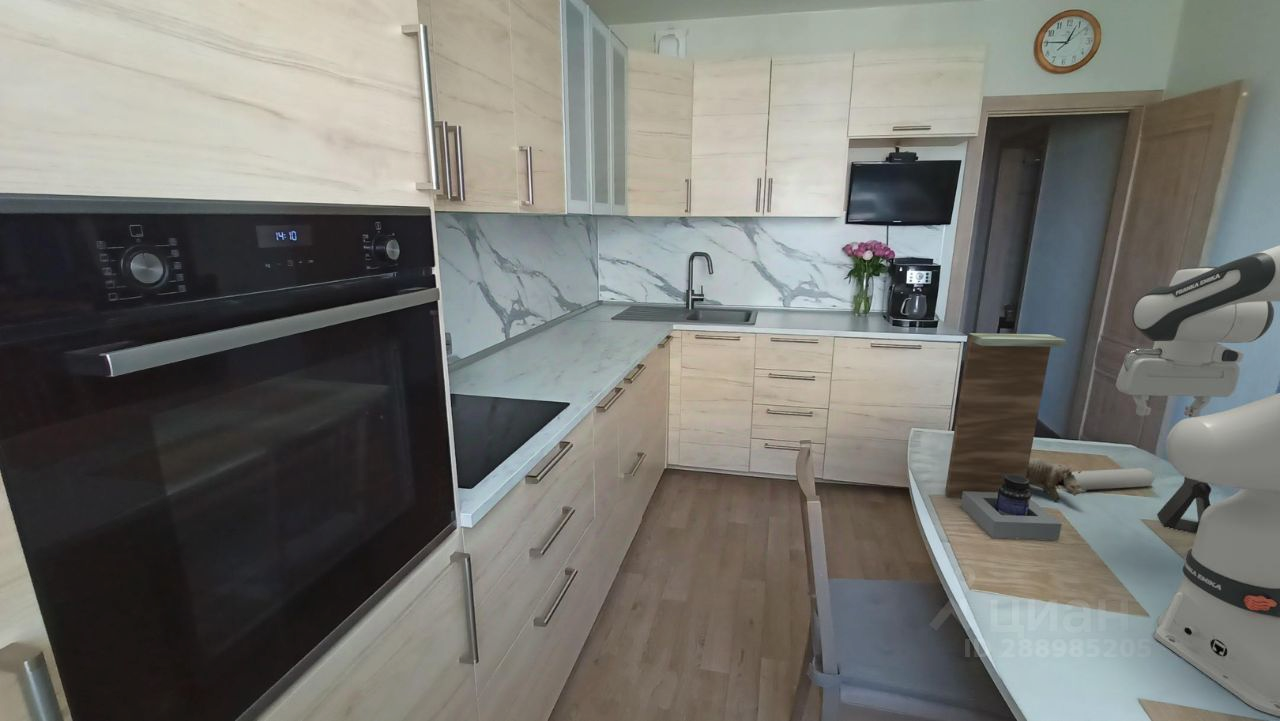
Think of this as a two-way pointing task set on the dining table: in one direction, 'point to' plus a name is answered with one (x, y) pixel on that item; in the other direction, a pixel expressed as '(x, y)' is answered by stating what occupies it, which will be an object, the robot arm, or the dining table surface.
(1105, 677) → the dining table surface
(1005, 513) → the pill bottle
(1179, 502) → the phone stand
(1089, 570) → the dining table surface
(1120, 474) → the tube
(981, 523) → the socket block
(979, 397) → the wood grain plank
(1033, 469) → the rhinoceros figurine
